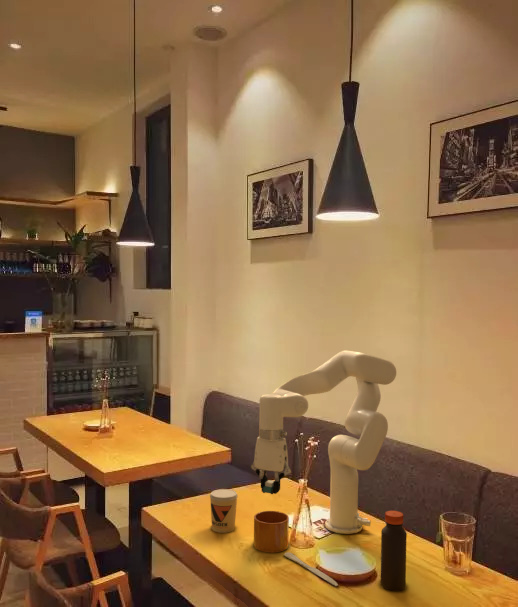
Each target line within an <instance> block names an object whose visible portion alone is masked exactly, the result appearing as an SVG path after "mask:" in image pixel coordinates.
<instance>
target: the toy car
mask: <svg viewBox="0 0 518 607" xmlns="http://www.w3.org/2000/svg"><path fill="white" fill-rule="evenodd" d="M274 481H275V480H271V479H268V481H267V482H265V486H264V487H263V492H262V493H263V494H270V495H274V493H273V482H274Z"/></svg>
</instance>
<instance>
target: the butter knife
mask: <svg viewBox="0 0 518 607" xmlns="http://www.w3.org/2000/svg"><path fill="white" fill-rule="evenodd" d="M283 556H284V557H286V558H287V559H289V560H291V561H292V562H295V563H296V564H298V565H301V566H302V567H303V568H305V569H307V570H309V571H310V572H311V573H313V574H315V575H317V576H318V577H320V578H322V579H323V580H325V581H326V582H328V583H330V584H331V585H333V586H335V587H337V586H339V584H338V582H337V581H336V580H334V579H333V578H332V577H330V576H329V575H328V574H326V573H324V572H322V571H321V570H319V569H318V568H316V567H313V566H310V565H308V564H307V563H305V562H304V561H302V560H301V559H300V558H299V557H297V556H296V555H295V554H294V553H292V552H289V551H288V552H285V553H284V554H283Z"/></svg>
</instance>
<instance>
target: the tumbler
mask: <svg viewBox="0 0 518 607" xmlns="http://www.w3.org/2000/svg"><path fill="white" fill-rule="evenodd" d="M289 525H290V516H289V515H288V514H287V513H285V512H282V511H277V510H263V511H259V512H257V513H255V514H254V516H253V547H254V548H255V549H256V550H258V551H260V552H263V553H279V552H283V551H285V550H287V549H288V548H289V538H290V537H289V536H290V535H289V533H290V532H289V531H290V530H289V528H290V526H289Z"/></svg>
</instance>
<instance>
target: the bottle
mask: <svg viewBox="0 0 518 607" xmlns="http://www.w3.org/2000/svg"><path fill="white" fill-rule="evenodd" d="M384 523H385V526H384V527H383V528H382V529H381V533H380V534H381V535H380V537H381V538H380V580H379V581H380V585H381V587H382V588H384V589H385V590H387V591H391V592H392V591H393V592H398V591H399V592H400V591H402V590H404V589H405V588H406V585H407V582H406V581H407V539H408V538H407V531H406V530H405V528H403V525H404V513H403V512H401V511H398V510H387V511H385V513H384Z"/></svg>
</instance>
